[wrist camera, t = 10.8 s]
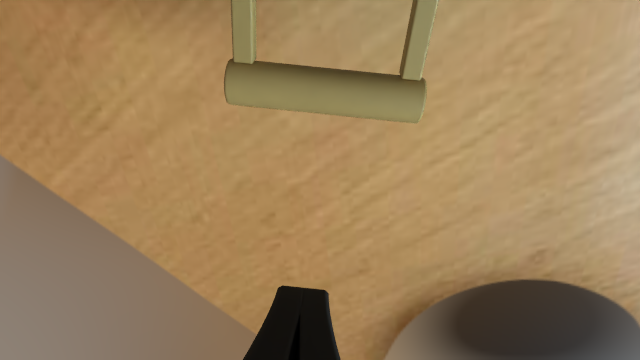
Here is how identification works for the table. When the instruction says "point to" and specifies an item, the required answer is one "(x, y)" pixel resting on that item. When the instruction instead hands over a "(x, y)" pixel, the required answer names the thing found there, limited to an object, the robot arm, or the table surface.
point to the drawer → (329, 75)
